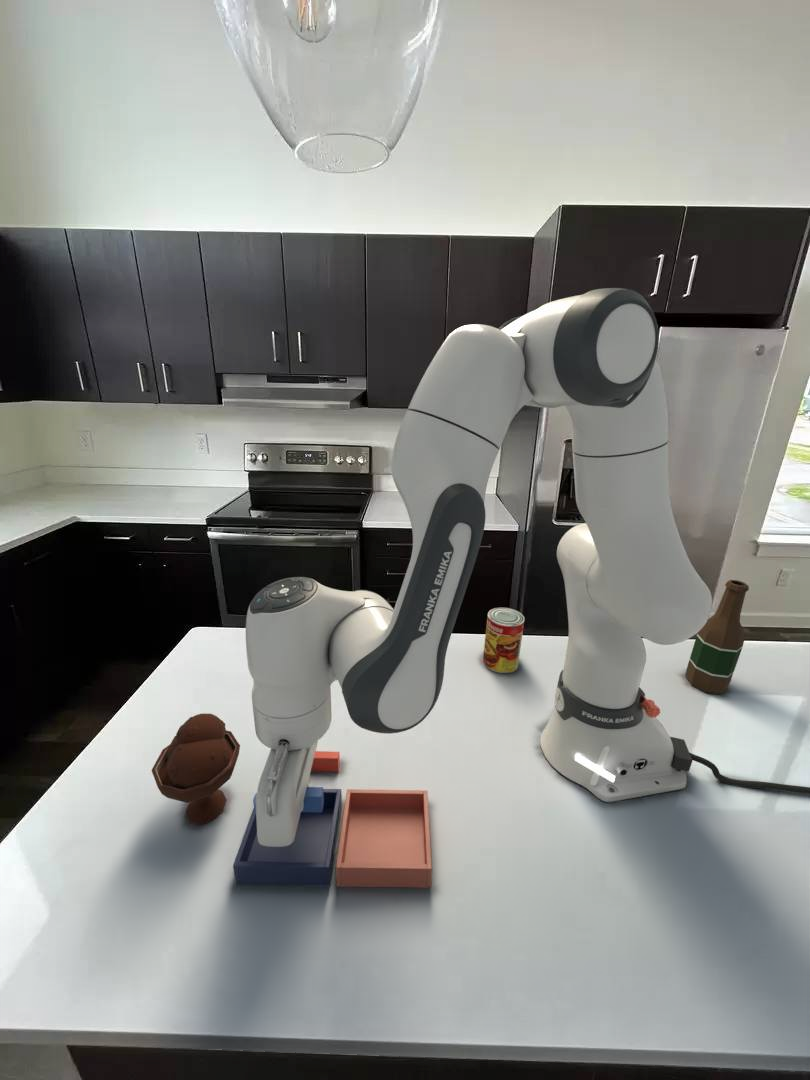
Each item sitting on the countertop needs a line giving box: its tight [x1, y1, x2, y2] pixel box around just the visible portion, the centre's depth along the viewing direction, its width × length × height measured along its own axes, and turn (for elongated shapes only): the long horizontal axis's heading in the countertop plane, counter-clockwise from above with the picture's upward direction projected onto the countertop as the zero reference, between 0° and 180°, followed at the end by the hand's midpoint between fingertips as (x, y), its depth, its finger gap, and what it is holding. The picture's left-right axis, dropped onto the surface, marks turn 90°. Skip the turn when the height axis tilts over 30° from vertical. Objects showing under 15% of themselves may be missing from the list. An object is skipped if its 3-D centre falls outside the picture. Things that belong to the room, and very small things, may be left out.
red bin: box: [335, 788, 433, 889], centre depth 57 cm, size 12×11×4 cm
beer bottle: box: [684, 579, 750, 696], centre depth 87 cm, size 8×8×24 cm
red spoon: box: [311, 750, 341, 773], centre depth 69 cm, size 9×3×3 cm, turn 90°
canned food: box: [482, 606, 526, 674], centre depth 95 cm, size 8×8×12 cm
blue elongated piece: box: [252, 786, 324, 814], centre depth 55 cm, size 9×3×3 cm, turn 90°
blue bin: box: [232, 788, 343, 887], centre depth 57 cm, size 12×11×4 cm
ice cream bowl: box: [151, 713, 241, 826], centre depth 60 cm, size 11×11×15 cm
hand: (299, 796), depth 55 cm, fingers closed on blue elongated piece
